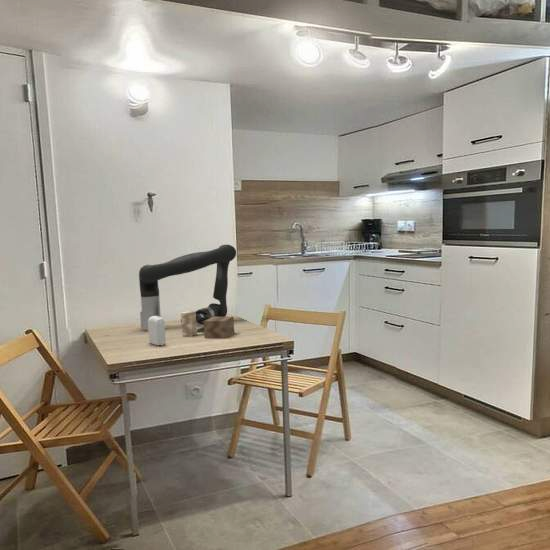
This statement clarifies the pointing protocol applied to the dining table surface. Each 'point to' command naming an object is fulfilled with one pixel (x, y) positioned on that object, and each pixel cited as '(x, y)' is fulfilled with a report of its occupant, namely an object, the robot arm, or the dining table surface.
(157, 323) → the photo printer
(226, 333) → the walnut block
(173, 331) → the dining table surface
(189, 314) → the maple block
